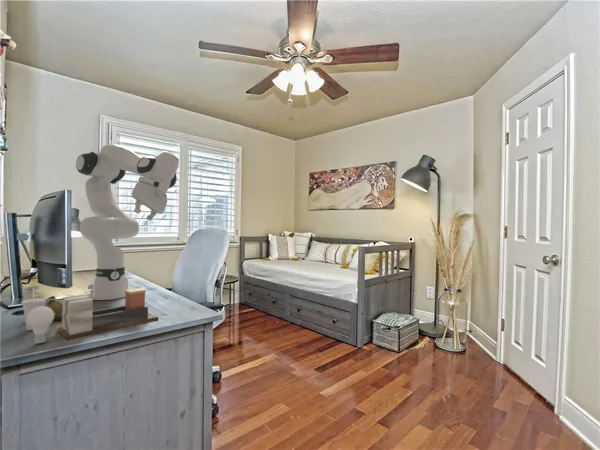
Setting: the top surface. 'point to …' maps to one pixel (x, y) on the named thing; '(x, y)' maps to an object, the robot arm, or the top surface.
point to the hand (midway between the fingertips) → (142, 216)
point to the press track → (97, 317)
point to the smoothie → (32, 306)
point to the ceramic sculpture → (55, 306)
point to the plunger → (134, 298)
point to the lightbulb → (40, 322)
